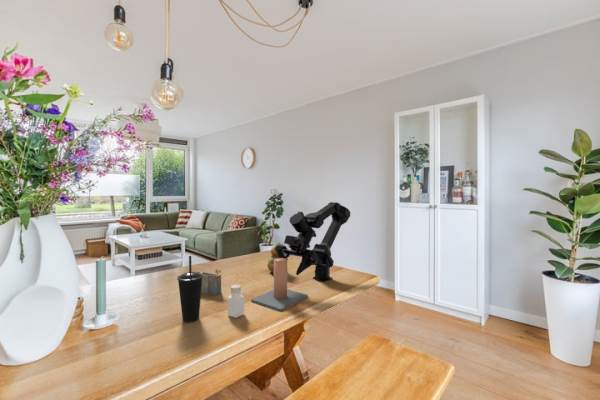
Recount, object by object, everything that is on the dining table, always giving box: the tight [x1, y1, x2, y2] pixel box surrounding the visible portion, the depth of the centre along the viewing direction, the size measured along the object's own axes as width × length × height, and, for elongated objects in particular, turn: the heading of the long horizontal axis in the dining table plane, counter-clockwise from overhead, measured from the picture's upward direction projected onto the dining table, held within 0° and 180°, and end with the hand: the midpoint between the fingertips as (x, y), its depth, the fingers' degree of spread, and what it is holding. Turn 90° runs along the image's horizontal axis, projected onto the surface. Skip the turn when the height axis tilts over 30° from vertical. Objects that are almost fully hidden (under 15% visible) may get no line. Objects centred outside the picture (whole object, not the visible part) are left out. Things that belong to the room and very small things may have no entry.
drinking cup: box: [176, 255, 203, 323], centre depth 89 cm, size 8×8×20 cm
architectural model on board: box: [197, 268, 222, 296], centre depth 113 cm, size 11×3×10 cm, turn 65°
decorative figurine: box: [267, 241, 284, 274], centre depth 139 cm, size 10×8×15 cm
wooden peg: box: [273, 258, 288, 300], centre depth 105 cm, size 5×5×14 cm
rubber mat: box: [251, 288, 309, 312], centre depth 106 cm, size 16×14×1 cm
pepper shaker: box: [227, 284, 245, 319], centre depth 92 cm, size 4×4×10 cm
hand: (287, 272), depth 109 cm, fingers open, 9 cm apart
